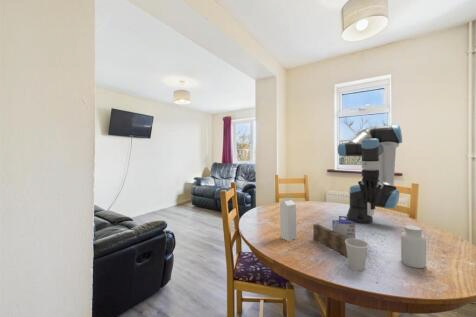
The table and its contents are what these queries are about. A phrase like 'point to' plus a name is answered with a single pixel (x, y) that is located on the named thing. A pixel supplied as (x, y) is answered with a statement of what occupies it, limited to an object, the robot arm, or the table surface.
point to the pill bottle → (413, 247)
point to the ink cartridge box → (344, 227)
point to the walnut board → (330, 239)
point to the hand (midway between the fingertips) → (370, 214)
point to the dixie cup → (356, 253)
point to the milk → (288, 219)
